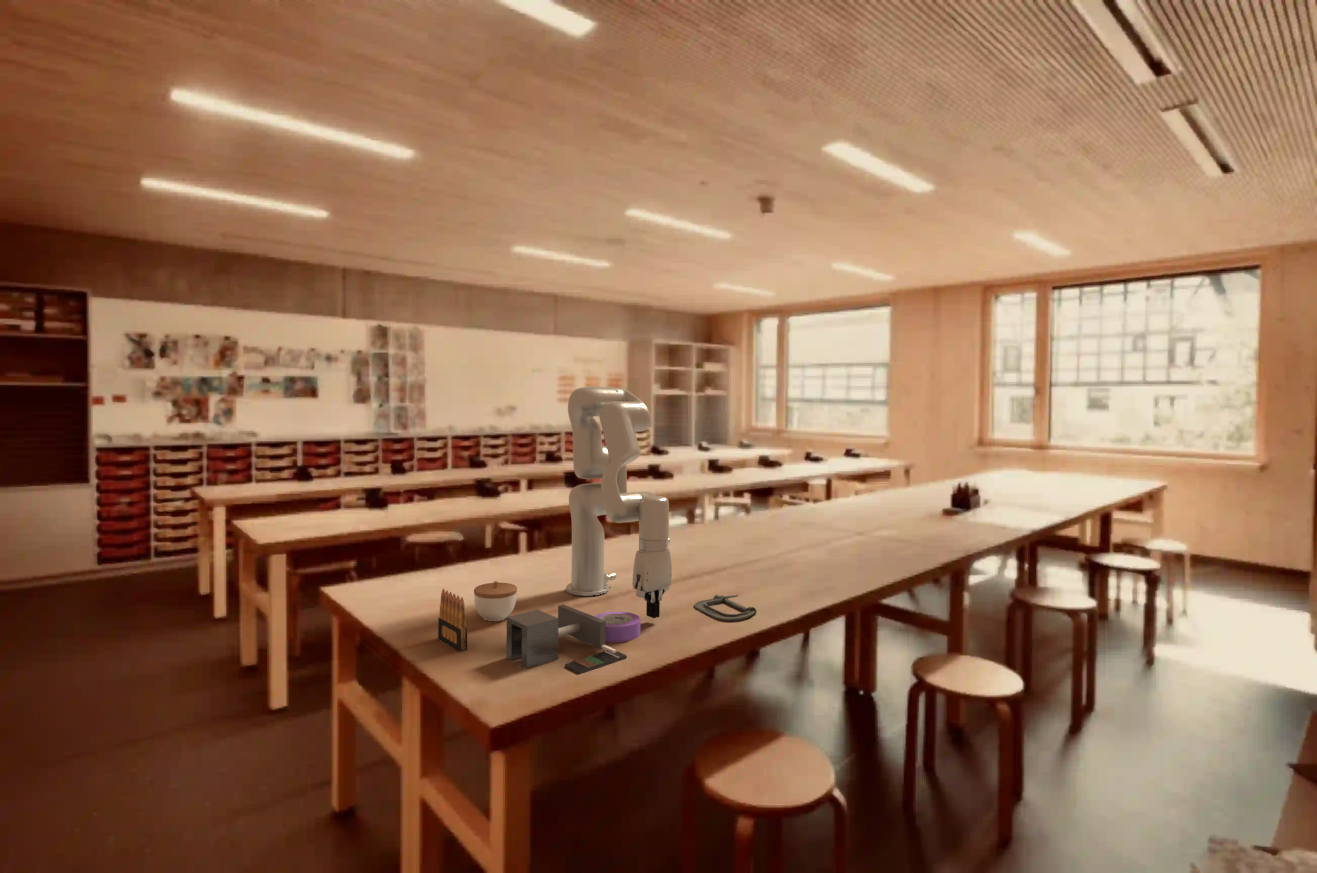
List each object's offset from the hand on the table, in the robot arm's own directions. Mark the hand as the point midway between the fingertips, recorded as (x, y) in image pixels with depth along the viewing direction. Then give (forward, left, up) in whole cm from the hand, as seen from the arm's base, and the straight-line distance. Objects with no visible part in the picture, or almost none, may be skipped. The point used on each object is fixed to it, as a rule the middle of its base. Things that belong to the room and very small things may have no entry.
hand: (652, 616), depth 172 cm
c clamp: (-24, +5, -3) cm, 24 cm away
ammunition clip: (+45, -19, -2) cm, 49 cm away
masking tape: (+12, 0, -2) cm, 12 cm away
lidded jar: (+28, -29, -2) cm, 40 cm away
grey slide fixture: (+30, +4, -2) cm, 31 cm away
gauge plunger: (+30, +2, 0) cm, 30 cm away
